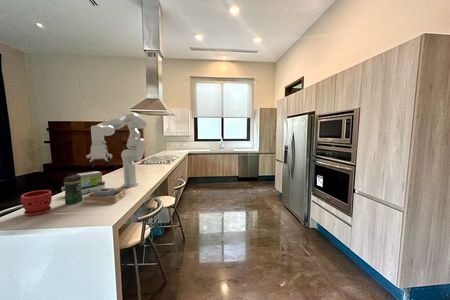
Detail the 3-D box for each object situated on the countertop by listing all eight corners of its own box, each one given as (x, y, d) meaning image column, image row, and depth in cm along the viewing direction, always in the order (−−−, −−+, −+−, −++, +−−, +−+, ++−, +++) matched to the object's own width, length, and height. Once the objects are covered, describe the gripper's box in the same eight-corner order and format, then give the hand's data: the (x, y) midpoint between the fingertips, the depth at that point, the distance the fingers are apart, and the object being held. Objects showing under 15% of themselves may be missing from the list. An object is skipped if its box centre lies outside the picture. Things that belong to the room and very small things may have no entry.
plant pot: (16, 217, 115) (13, 196, 114) (40, 208, 128) (38, 189, 127) (36, 218, 113) (34, 197, 112) (58, 209, 126) (56, 190, 125)
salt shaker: (100, 194, 154) (99, 181, 153) (106, 194, 155) (106, 181, 154) (97, 196, 150) (96, 183, 149) (103, 196, 150) (102, 182, 149)
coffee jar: (75, 205, 132) (73, 177, 130) (62, 205, 132) (60, 177, 130) (85, 200, 142) (83, 173, 140) (73, 200, 141) (71, 174, 140)
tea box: (81, 194, 155) (80, 175, 154) (77, 192, 161) (75, 173, 160) (103, 189, 167) (101, 171, 166) (97, 187, 173) (96, 170, 172)
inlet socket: (102, 198, 144) (101, 188, 143) (115, 197, 144) (114, 188, 144) (94, 202, 135) (93, 192, 134) (108, 202, 136) (108, 191, 135)
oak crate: (96, 198, 146) (95, 191, 146) (124, 197, 147) (124, 190, 147) (83, 205, 132) (83, 197, 132) (115, 204, 133) (115, 196, 133)
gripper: (113, 142, 149) (115, 165, 151) (88, 142, 148) (90, 166, 149) (108, 143, 142) (110, 167, 143) (82, 143, 140) (84, 168, 142)
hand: (100, 166), depth 146 cm, fingers open, 9 cm apart
